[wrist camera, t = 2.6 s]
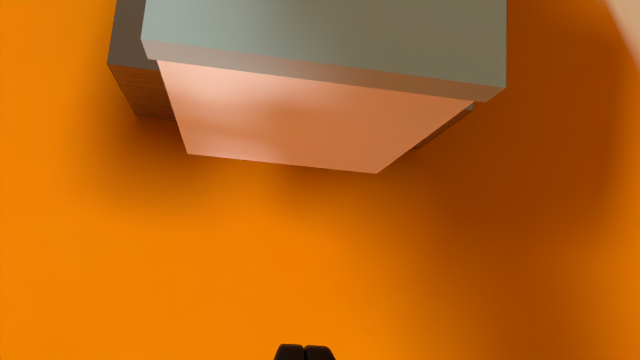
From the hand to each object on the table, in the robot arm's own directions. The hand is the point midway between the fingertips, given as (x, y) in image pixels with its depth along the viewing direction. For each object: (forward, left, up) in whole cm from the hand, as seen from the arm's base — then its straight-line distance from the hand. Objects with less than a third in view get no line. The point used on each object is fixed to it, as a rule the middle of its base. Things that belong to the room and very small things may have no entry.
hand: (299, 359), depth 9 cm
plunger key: (+7, -2, -7) cm, 10 cm away
